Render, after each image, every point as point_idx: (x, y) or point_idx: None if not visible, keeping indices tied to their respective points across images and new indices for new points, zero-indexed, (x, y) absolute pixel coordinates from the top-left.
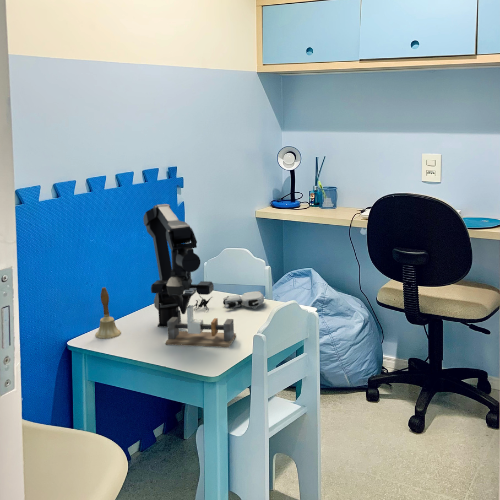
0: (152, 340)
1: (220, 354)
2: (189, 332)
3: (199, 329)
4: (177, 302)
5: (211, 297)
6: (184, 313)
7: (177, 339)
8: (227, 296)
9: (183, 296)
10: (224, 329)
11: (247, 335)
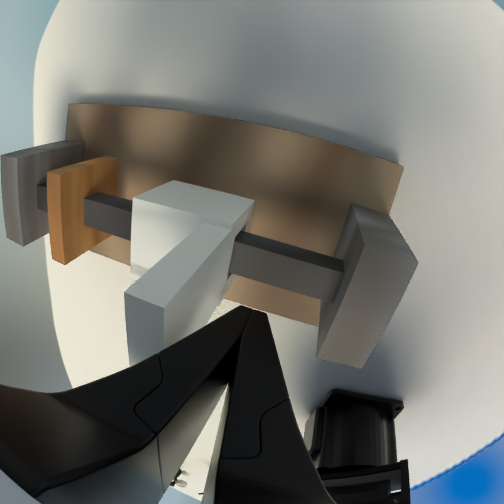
0: (460, 251)
1: (107, 20)
2: (241, 199)
3: (162, 186)
4: (291, 428)
5: (202, 493)
6: (237, 308)
7: (330, 190)
8: (173, 485)
9: (46, 452)
10: (38, 151)
11: (48, 237)
